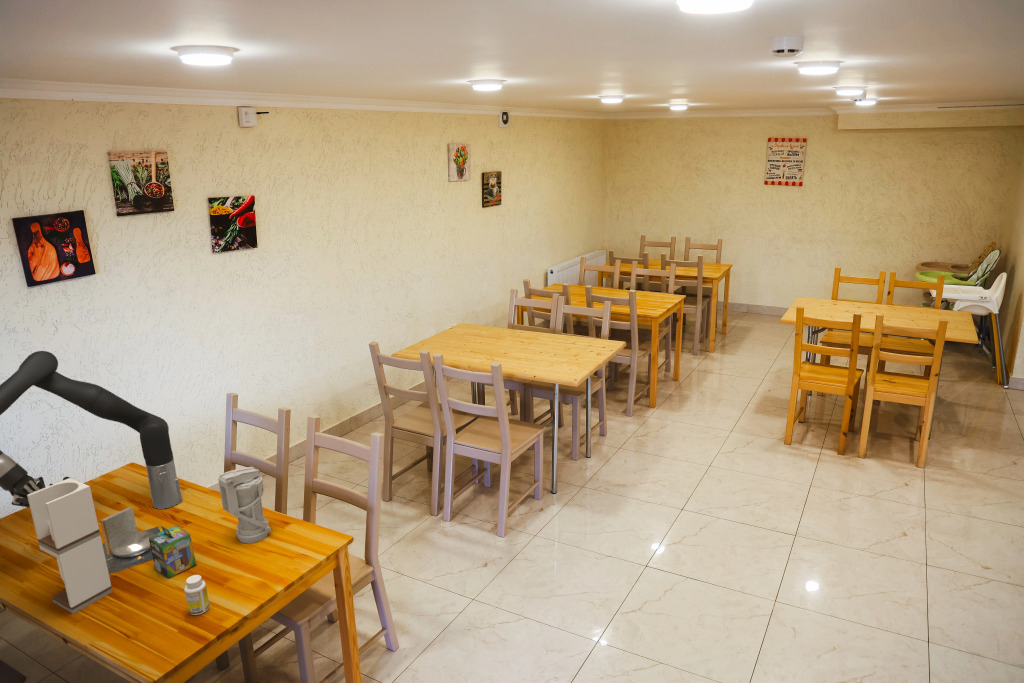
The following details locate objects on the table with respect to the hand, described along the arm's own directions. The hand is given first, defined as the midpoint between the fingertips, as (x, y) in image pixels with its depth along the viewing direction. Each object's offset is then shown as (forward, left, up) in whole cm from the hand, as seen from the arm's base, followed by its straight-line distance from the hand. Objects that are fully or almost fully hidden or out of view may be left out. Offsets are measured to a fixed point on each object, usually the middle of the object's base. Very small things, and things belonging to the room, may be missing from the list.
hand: (50, 509), depth 214 cm
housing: (-19, +8, -19) cm, 28 cm away
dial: (-19, +8, -17) cm, 27 cm away
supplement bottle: (-27, +53, -20) cm, 63 cm away
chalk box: (-27, +26, -20) cm, 43 cm away
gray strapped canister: (-51, +24, -20) cm, 60 cm away
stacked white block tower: (-2, +24, -20) cm, 31 cm away
